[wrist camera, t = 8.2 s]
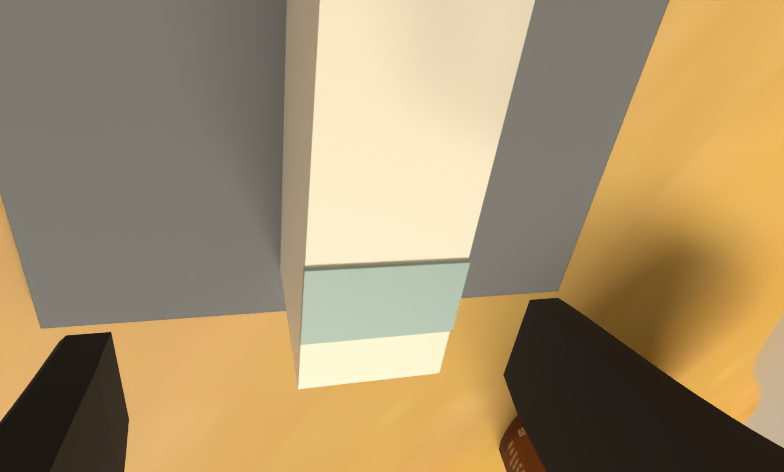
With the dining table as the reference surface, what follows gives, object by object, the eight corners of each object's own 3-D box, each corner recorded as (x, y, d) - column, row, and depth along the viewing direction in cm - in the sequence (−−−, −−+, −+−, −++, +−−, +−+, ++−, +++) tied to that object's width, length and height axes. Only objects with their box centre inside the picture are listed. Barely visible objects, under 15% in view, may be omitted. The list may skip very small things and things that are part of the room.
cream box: (278, 269, 19) (297, 392, 15) (287, -84, 13) (321, -52, 9) (395, 263, 21) (444, 375, 16) (449, -62, 15) (551, -26, 10)
